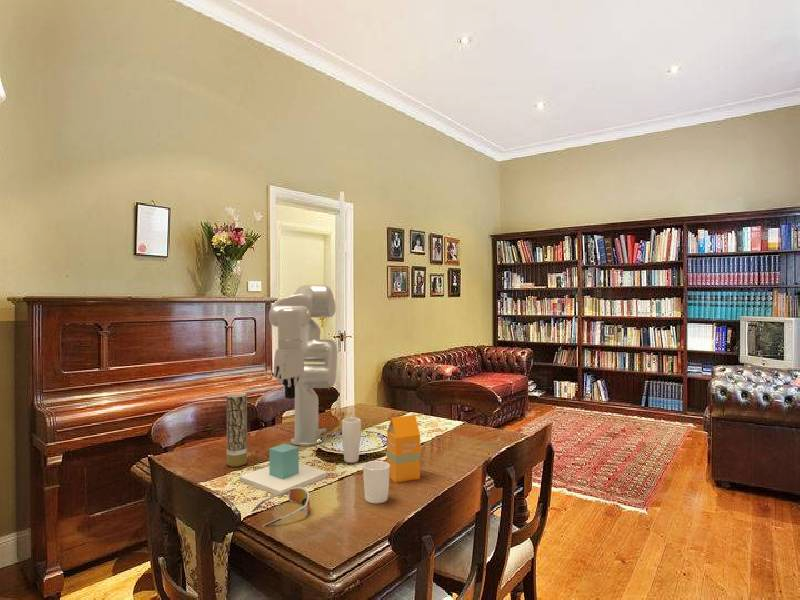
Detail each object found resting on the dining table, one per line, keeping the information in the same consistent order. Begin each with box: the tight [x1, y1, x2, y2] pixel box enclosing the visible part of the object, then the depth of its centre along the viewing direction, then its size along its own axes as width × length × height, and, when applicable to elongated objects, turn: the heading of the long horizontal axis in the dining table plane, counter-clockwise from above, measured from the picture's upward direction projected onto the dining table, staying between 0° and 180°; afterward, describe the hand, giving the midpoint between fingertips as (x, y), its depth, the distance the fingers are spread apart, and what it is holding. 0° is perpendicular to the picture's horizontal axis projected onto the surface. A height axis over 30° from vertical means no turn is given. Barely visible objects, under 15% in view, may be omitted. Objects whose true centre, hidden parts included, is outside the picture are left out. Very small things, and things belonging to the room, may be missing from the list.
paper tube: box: [226, 391, 248, 468], centre depth 174 cm, size 7×7×25 cm
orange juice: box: [386, 414, 421, 483], centre depth 163 cm, size 8×9×20 cm
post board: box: [238, 463, 329, 497], centre depth 160 cm, size 20×20×2 cm
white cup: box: [362, 460, 390, 504], centre depth 145 cm, size 8×8×10 cm
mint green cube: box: [268, 443, 300, 479], centre depth 160 cm, size 7×7×9 cm
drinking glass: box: [341, 416, 362, 464], centre depth 178 cm, size 7×7×15 cm
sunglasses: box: [250, 487, 311, 527], centre depth 136 cm, size 14×15×5 cm
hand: (290, 397), depth 167 cm, fingers closed
